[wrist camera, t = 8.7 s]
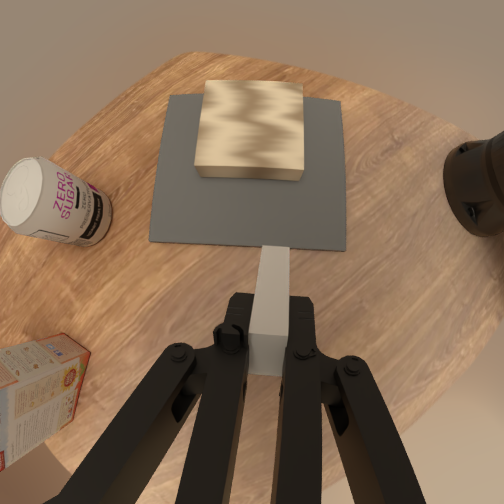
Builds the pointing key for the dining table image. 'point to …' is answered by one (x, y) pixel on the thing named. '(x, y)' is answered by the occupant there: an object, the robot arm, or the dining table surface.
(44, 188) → the supplement can
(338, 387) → the robot arm
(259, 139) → the wooden block
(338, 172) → the mat
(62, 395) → the cracker box
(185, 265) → the dining table surface
